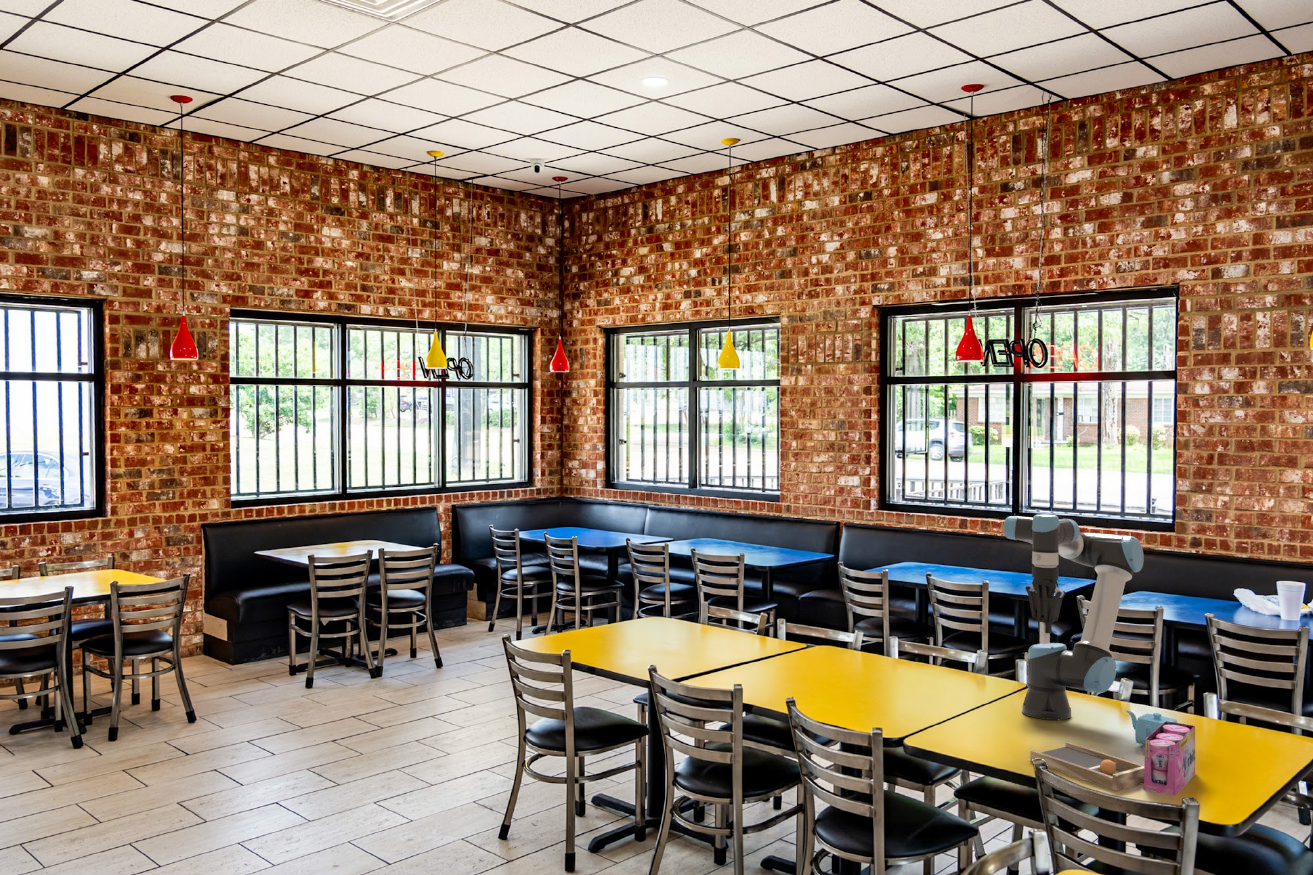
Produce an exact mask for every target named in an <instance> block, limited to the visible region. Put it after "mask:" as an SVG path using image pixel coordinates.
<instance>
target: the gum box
mask: <svg viewBox="0 0 1313 875" xmlns="http://www.w3.org/2000/svg"><path fill="white" fill-rule="evenodd" d="M1195 775H1196V726H1195V725H1191V724H1185V723H1179V722H1177V723H1175V722H1168V721H1166V722H1164V723H1163V724H1162V725H1161V726H1160V727H1159V728H1158V729H1156V730H1155V731H1154V732H1153V733H1152V734H1150V735H1149V736H1148V737H1147V738H1146V739H1145V748H1144V783H1143V790H1147V791H1150V792H1155V793H1160V794H1165V795H1169V796H1172V797H1173V796H1175V797H1176V796H1177V794H1179V792H1180V791H1181V790H1182V789H1183V788H1184V787H1185V786H1186V785H1187V784H1188V783H1189V781H1190V780H1191V779H1192V778H1193V777H1194V776H1195Z"/></svg>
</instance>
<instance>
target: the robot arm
mask: <svg viewBox="0 0 1313 875" xmlns="http://www.w3.org/2000/svg"><path fill="white" fill-rule="evenodd" d="M1059 518H1060V517H1059V516H1058V515H1055V514H1044V513H1043V514H1035V515H1034V516H1033V517H1031V516H1030V517H1029V516H1019V515H1013V516H1012V515H1011V516H1007V517H1006V518H1005V520H1004V522H1003V527H1002V528H1003V534H1004V537H1005V538H1006V539H1009V540H1014V541H1023V542H1025V543H1029V544H1031V545H1032V548H1031V552H1032V554H1031V556H1032V558H1031V564H1032V567H1031V578H1032V579H1033V580H1032V581H1031V584H1030V585H1026V586H1025V591H1026V593H1027V596H1028V601H1029V606H1030V611H1031V617H1032V618H1033V619H1035V620H1036V622H1037V631H1038V632H1039V643H1037V644H1032V645H1031V646H1029V648H1028V655H1027V656H1028V657H1027V662H1028V663H1027V666H1028V667H1027V675H1028V676H1027V677H1028V678H1027V680H1028V682H1027V684H1028V685H1027V692H1026V695H1025V697H1024V700H1023V703H1022V713H1023V714H1024V715H1026V716H1029V717H1031V718H1035V719H1040V720H1049V721H1061V720H1067V719H1068V720H1069V719H1070V718H1071V717H1072V708H1071V706H1070V702H1069V698H1068V695H1067V693H1066V692H1067V691H1066V687H1067V688H1071V689H1078V690H1081V691H1086V692H1088V693H1098V694H1101V693H1105V692H1107V691H1108V690H1109V689H1110V688H1112V685H1113V684H1114V681H1115V679H1116V675H1117V664H1116V661H1115V660H1114V658H1113V653H1112V652H1111V650H1110V646H1111V641H1112V637H1113V633H1114V630H1115V625H1116V622H1117V617H1118V613H1119V610H1120V606H1121V603H1122V602H1121V601H1122V597H1123V593H1124V591H1125V590H1124V589H1125V585H1126V582H1129V581H1131V580H1132V579H1133V575H1134V573H1139V572H1140V571H1142V569H1143V566H1144V559H1145V558H1144V550H1143V547H1142V543H1141V542H1140V540H1139V539H1138V538H1137V537H1135V536H1132V535H1125V534H1113V533H1112V534H1109V533H1101V532H1100V533H1097V532H1080V527H1079V524H1078V523H1077V522H1076V520H1073V519H1070V518H1060V519H1059ZM1059 556H1060V557H1061V558H1064V559H1067V560H1070V561H1071V562H1074V563H1077V564H1080V565H1083V566H1086V567H1091V568H1094V571H1095V572H1096V574H1097V577H1096V581H1095V585H1094V589H1093V592H1092V597H1091V599H1090V604H1089V607H1088V612H1087V614H1086V620H1085V622H1084V623H1085V624H1084V628H1083V631H1082V635H1081V638H1080V640H1079V641H1078V642H1076V643H1074V645H1073V649H1072V650H1067V645H1066V644H1064V643H1062V642H1061V643H1059V642H1056V643H1055V642H1050V641H1051V640H1050V638H1051V635H1050V634H1051V633H1052V631H1053V629H1052V628H1053V627H1052V626H1053V625H1052V624H1053V623H1054V622H1058V619H1059V617H1060V616H1059V615H1060V613H1061V612H1060V611H1061V608H1062V607H1061V606H1062V603H1063V600H1064V599H1063V598H1064V596H1066V591H1065V590H1061V589H1060V588H1059V584H1058V581H1059V580H1058V579H1059V567H1058V566H1059V564H1060V558H1059Z"/></svg>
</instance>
